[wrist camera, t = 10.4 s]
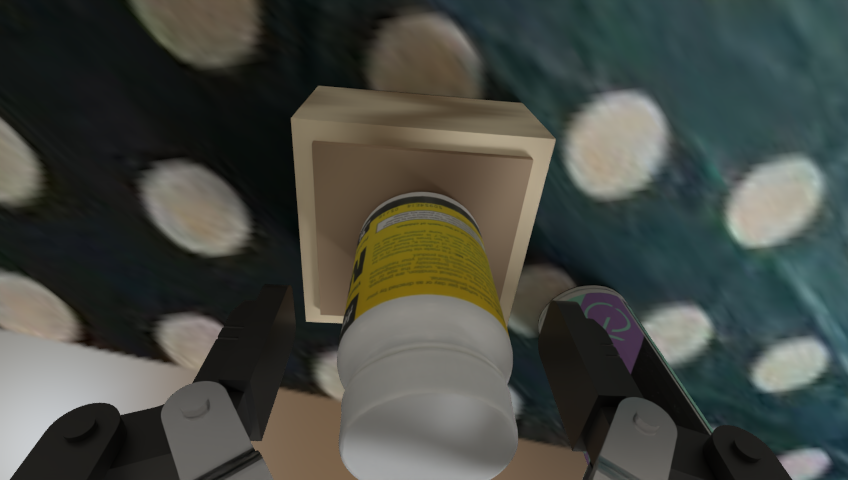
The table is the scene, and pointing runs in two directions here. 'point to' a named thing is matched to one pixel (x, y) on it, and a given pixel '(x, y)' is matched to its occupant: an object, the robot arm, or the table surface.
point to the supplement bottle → (424, 349)
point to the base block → (411, 177)
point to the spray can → (637, 354)
